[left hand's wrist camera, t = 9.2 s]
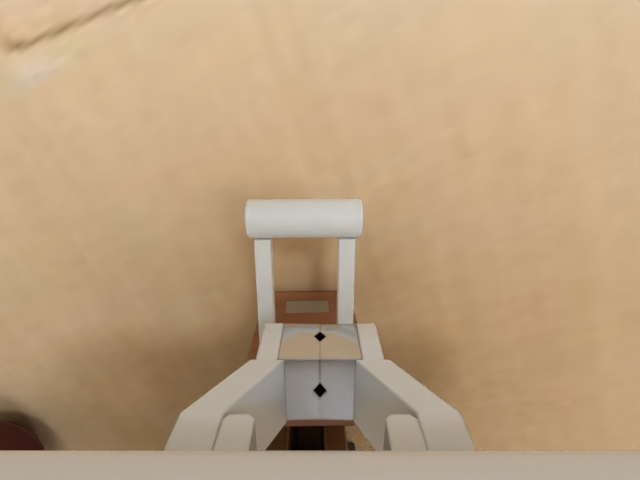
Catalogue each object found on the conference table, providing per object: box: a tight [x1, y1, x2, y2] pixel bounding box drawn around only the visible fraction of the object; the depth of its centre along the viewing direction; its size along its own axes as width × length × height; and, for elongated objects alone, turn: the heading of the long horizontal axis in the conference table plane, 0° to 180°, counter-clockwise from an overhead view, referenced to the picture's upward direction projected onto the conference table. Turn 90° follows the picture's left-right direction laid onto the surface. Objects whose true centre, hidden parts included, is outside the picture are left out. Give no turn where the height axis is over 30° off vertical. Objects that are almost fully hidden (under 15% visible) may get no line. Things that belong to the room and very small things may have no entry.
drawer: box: [245, 199, 363, 451], centre depth 18 cm, size 22×4×8 cm, turn 0°
